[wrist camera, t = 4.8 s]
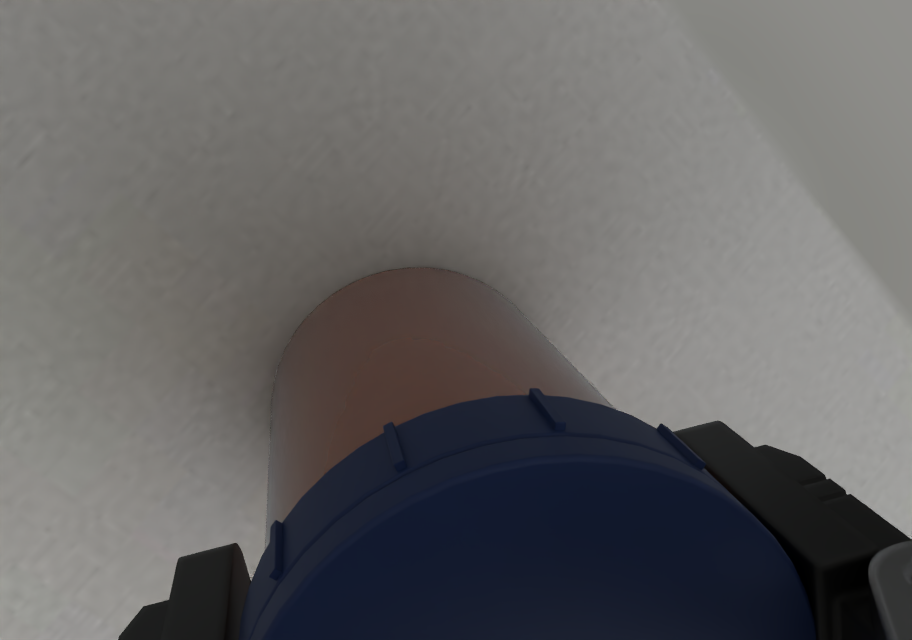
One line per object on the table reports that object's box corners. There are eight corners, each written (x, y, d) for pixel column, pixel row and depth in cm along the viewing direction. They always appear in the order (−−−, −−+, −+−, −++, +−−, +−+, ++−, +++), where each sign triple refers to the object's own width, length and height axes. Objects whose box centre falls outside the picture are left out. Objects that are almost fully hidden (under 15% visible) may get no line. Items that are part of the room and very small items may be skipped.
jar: (603, 385, 18) (855, 635, 10) (422, 577, 18) (525, 963, 10) (405, 205, 16) (521, 336, 8) (210, 423, 16) (140, 745, 8)
